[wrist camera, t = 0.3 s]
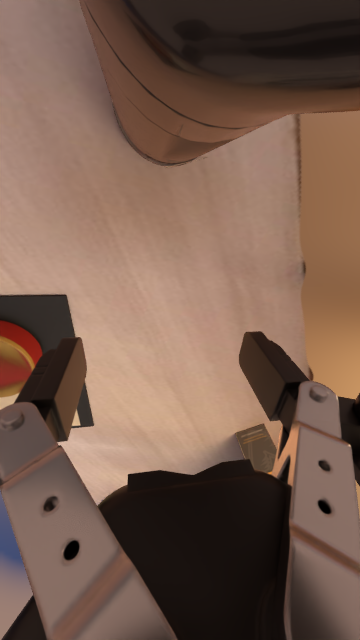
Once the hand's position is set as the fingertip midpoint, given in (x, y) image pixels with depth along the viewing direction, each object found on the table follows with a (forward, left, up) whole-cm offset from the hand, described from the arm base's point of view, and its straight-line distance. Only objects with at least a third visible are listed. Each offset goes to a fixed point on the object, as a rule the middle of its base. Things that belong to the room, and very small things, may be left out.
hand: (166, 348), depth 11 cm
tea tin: (+12, -18, -17) cm, 28 cm away
